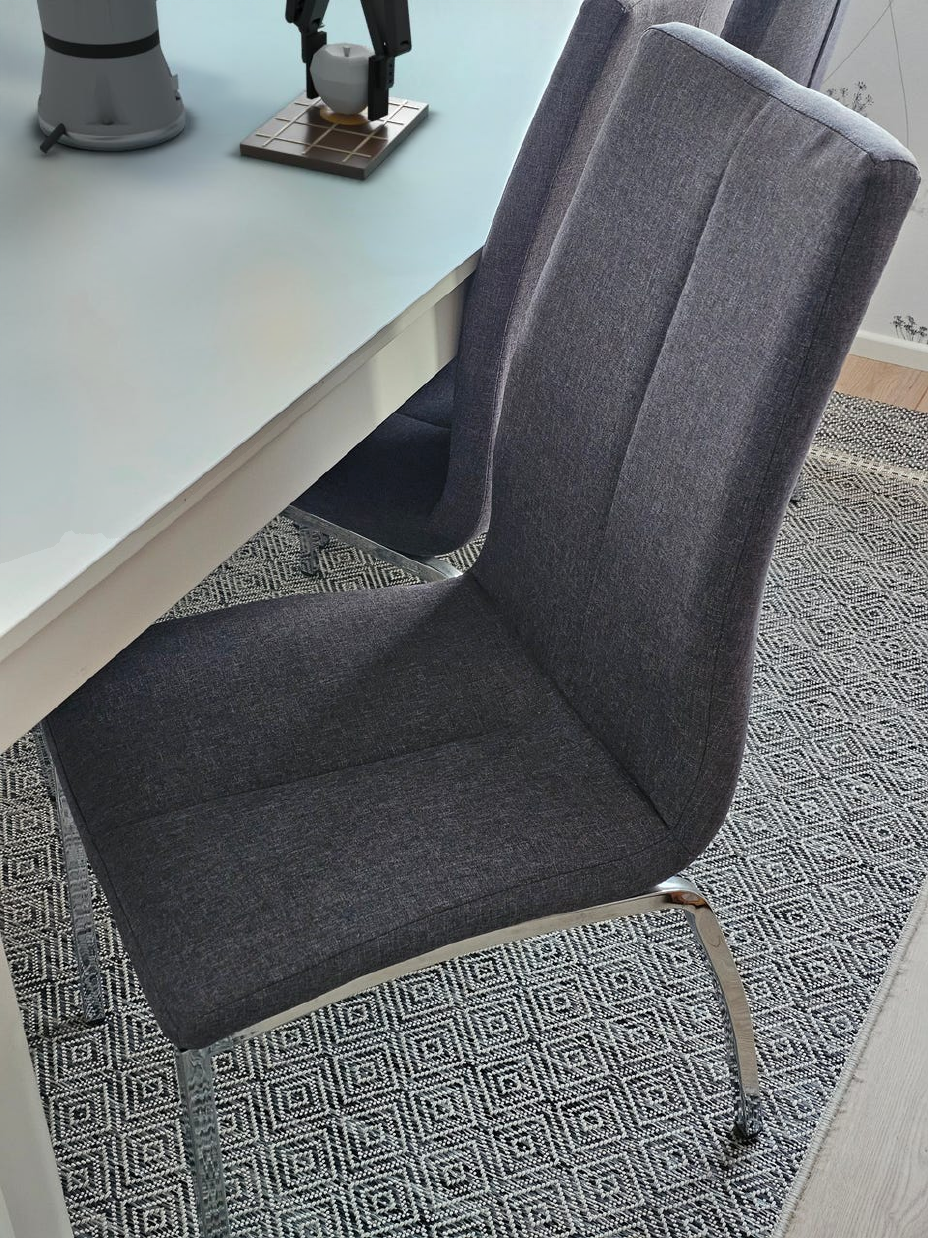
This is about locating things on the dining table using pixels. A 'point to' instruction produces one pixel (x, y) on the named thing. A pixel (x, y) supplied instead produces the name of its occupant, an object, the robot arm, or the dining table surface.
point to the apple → (342, 76)
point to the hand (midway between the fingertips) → (347, 105)
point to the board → (333, 136)
